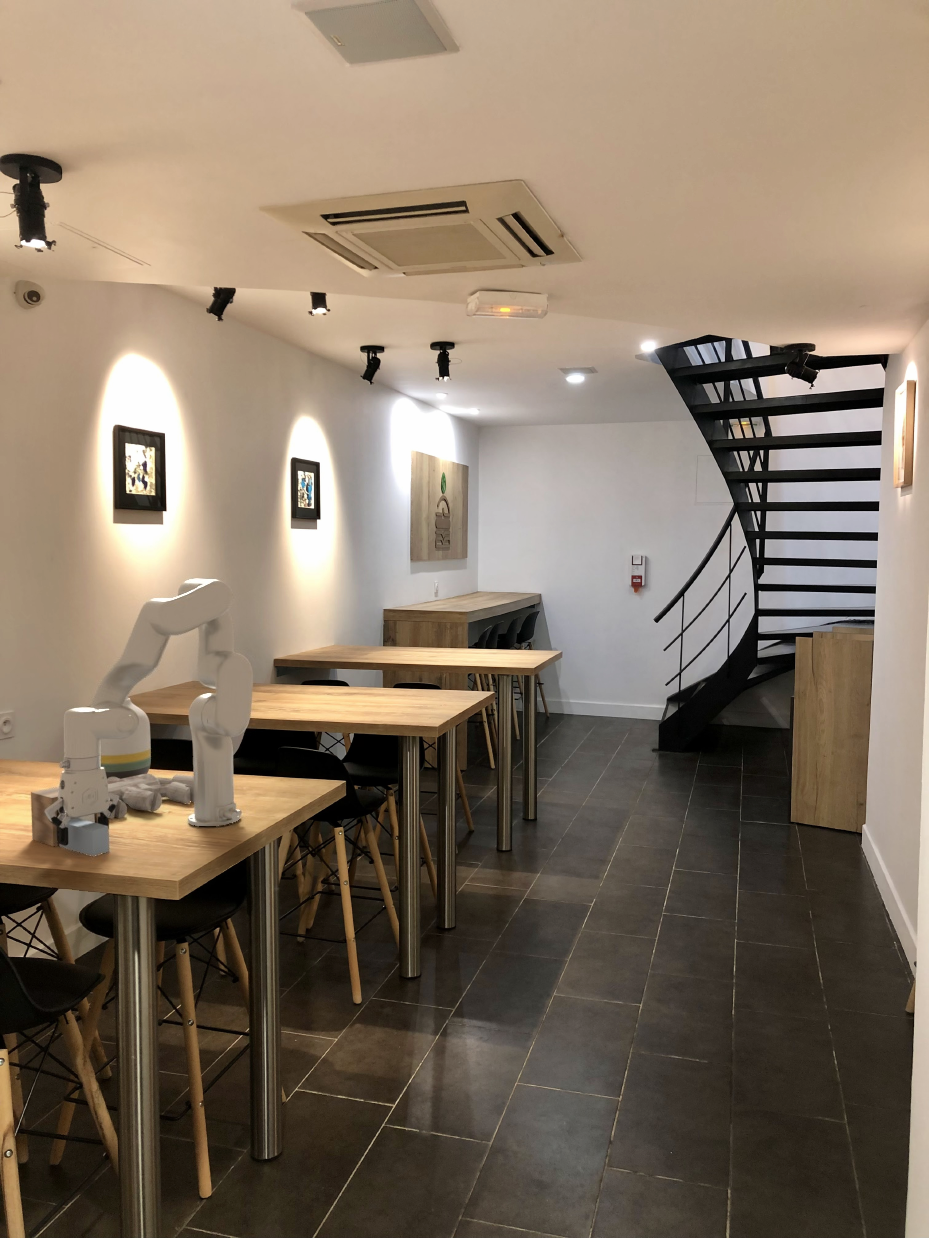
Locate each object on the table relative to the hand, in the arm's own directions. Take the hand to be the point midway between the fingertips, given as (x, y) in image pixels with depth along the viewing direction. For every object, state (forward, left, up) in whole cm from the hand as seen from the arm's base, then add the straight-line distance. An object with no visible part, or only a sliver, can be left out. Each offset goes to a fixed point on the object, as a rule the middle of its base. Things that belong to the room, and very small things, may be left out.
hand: (83, 839), depth 208 cm
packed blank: (+11, -6, -2) cm, 13 cm away
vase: (+53, -44, -3) cm, 69 cm away
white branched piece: (+28, -32, -3) cm, 42 cm away
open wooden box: (+12, -3, -2) cm, 13 cm away
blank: (0, 0, -3) cm, 3 cm away
